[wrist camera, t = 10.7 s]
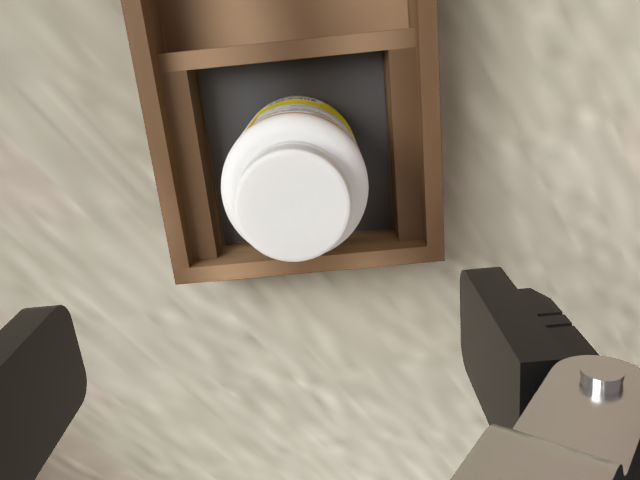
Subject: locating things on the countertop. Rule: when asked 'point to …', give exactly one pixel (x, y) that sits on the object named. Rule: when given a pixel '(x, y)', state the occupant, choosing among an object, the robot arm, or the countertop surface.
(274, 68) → the walnut crate
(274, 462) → the countertop surface
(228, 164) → the supplement bottle
